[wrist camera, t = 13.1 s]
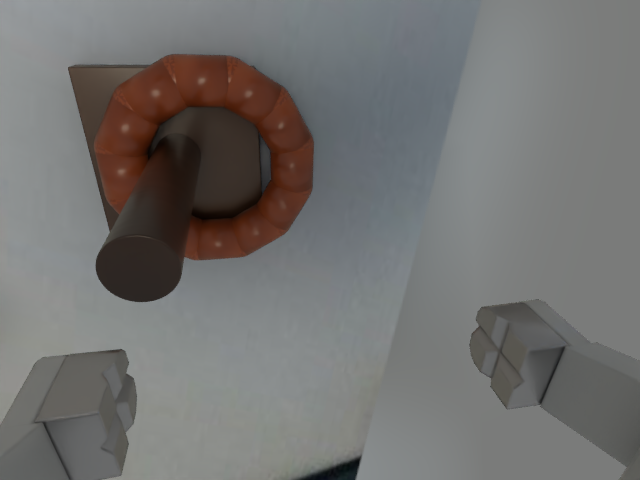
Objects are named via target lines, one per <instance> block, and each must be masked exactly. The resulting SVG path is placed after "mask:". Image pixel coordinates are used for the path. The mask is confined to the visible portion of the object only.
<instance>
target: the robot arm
mask: <svg viewBox="0 0 640 480" xmlns="http://www.w3.org/2000/svg"><path fill="white" fill-rule="evenodd" d="M476 321H477V323H478V324H479V327H478V328H477V329H476V330H475V331H474V332H473V333H472V335H471V340H470V352H471V356H472V359H473V361H474V364H475V365H476V367H477V368H478V370H479V371H480V372H481V373H483V374H485V375H486V376H488V377H490V378H491V386H490V387H491V388H492V389H493V391H494V392H495V393H496V395H497V396H498V398H499V399H500V400H501V402H502V403H503V404H504V406H505V407H506V409H513V408H521V407H528V406H535V405H541V406H540V407H541V408H543V409H544V410H546V411H547V412H548V413H550V414H551V415H553V416H554V417H556V418H557V419H558V420H560V421H561V422H563V423H564V424H566V425H567V426H569V427H570V428H571V429H573V430H574V431H576V432H577V433H579V434H580V435H581V436H583V437H584V438H586V439H587V440H589V441H590V442H592V443H593V444H595V445H596V446H598V447H599V448H600V449H602V450H603V451H605V452H606V453H607V454H609V455H610V456H612V457H613V458H615V459H616V460H618V461H619V462H621V463H622V464H623V465H625V466H626V467H627V468H626V469H625V471H624V472H623V474H622V475H621V477H620V479H619V480H640V361H639V360H637V359H635V358H632V357H630V356H628V355H625V354H623V353H621V352H618V351H616V350H614V349H611V348H609V347H607V346H604V345H601V344H599V343H597V342H596V343H590V342H589V341H588V340H587V339H586V338H585V337H584V336H583V335H581V334H580V333H579V332H578V331H577V330H576V329H575V328H574V327H572V326H571V325H570V324H569V323H568V322H567V321H566V320H565V319H563V318H562V317H561V316H560V315H559V314H558V313H557V312H556V311H554V310H553V309H552V308H551V307H550V306H549V305H548V304H546V302H544V301H541V300H539V299H536V300H529V301H521V302H518V303H517V302H516V303H508V304H500V305H492V306H484V307H481V309H480V310H479V311H478V313H477V316H476ZM128 365H129V361H128V358H127V355H126V352H125V351H124V350H122V349H119V350H108V351H98V352H87V353H77V354H70V355H61V356H51V357H42V358H41V359H40V360H38V361H37V362H36V363H35V364H34V366H33V368H32V370H31V372H30V373H29V375H28V377H27V379H26V380H25V382H24V384H23V386H22V388H21V389H20V391H19V393H18V395H17V396H16V398H15V400H14V402H13V404H12V405H11V407H10V409H9V411H8V412H7V414H6V416H5V418H4V420H3V421H2V423H1V425H0V480H102V479H107V478H112V477H117V476H121V475H122V470H123V466H124V462H125V458H126V454H127V449H128V445H129V443H128V440H127V436H126V433H125V432H126V431H127V430H128V429H129V428H130V427H131V426H132V425H133V424H134V419H135V414H136V404H137V394H136V386H135V382H134V378H133V377H131V376H130V375H128V374H127V373H126V372H127V368H128Z"/></svg>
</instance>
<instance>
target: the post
mask: <svg viewBox="0 0 640 480" xmlns="http://www.w3.org/2000/svg"><path fill="white" fill-rule="evenodd" d="M149 66H150V65H74V66H71V67H68V70H69V74H70V78H71V82H72V86H73V90H74V94H75V97H76V101H77V105H78V109H79V113H80V117H81V121H82V125H83V129H84V133H85V136H86V140H87V144H88V148H89V152H90V156H91V160H92V164H93V168H94V172H95V175H96V179H97V183H98V187H99V191H100V195H101V199H102V203H103V207H104V211H105V214H106V218H107V222H108V226H109V230H110V233H109V235H108V237H107V239H106V241H105V242H104V244H103V246H102V248H101V250H100V252H99V254H98V256H97V259H96V272H97V275H98V278H99V280H100V281H101V283H102V284H103V286H104V287H105V288H106V289H107V290H108V291H110V292H111V293H112V294H114V295H116V296H118V297H120V298H122V299H125V300H129V301H134V302H149V301H154V300H157V299H160V298H162V297H164V296H166V295H168V294H169V293H170V292H171V291H173V290H174V289H175V287H176V286H177V285H178V283H179V281H180V279H181V275H182V269H183V263H184V257H185V251H186V245H187V239H188V233H189V227H190V221H191V215H192V216H195V217H197V218H199V219H202V220H203V219H222V218H233V217H235V216H237V215H238V214H240V213H242V212H243V211H245V210H247V209H248V208H250V207H252V206H254V205H255V204H257V203H258V201H259V199H260V198H261V196H262V187H261V167H260V147H259V131H258V130H257V128H256V127H255V125H254V124H253V123H251V122H249V121H247V120H246V119H244V118H242V117H240V116H239V115H237V114H235V113H233V112H231V111H230V110H228V109H226V108H224V107H188V108H186V109H185V110H183V111H181V112H180V113H178V114H176V115H175V116H173V117H172V118H170V119H168V120H167V121H165V122H163V123H162V124H160V126H159V128H158V130H157V132H156V135H155V137H154V139H153V141H152V144H151V146H150V148H149V150H148V152H147V154H148V160H149V161H148V163H147V164H146V166H145V168H144V170H143V172H142V174H141V176H140V177H139V179H138V181H137V183H136V185H135V187H134V189H133V190H132V192H131V194H130V196H129V198H128V200H127V202H126V203H125V205H124V207H123V209H122V211H121V213H120V215H119V214H118V213H117V212H116V211H115V210H114V208H113V207H112V206H111V205H110V204H109V203H108V201H107V199H106V197H105V193H104V189H103V185H102V181H101V176H100V172H99V168H98V163H97V159H96V155H95V151H94V140H95V137H96V134H97V132H98V129H99V127H100V124H101V122H102V119H103V117H104V114H105V112H106V109H107V107H108V104H109V102H110V99H111V96H112V94H113V92H114V90H115V89H116V88H117V87H118V86H119V85H120V84H121V83H123V82H125V81H126V80H128V79H129V78H131V77H133V76H134V75H136V74H137V73H139V72H141V71H142V70H144V69H145V68H147V67H149ZM251 67H252V68H254V69H255V67H254V66H251Z"/></svg>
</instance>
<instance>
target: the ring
mask: <svg viewBox="0 0 640 480" xmlns="http://www.w3.org/2000/svg"><path fill="white" fill-rule="evenodd" d="M188 107H224V108H226V109H228V110H230V111H231V112H233V113H235V114H237V115H239V116H240V117H242V118H244V119H246V120H247V121H249V122H251V123H253V124H254V125H255V127H256V128H257V130H258V131H259V133H260V135H261V136H262V138H263V140H264V141H265V143H266V144H267V146H268V148H269V149H270V154H271V180H270V182H269V184H268V186H267V187H266V189H265V191H264V192H263V194H262V196H261V198H260V199H259V201H258V203H257V204H255V205H254V206H252V207H250V208H248V209H247V210H245V211H243V212H242V213H240V214H238V215H237V216H235V217H233V218H222V219H203V220H202V219H199V218H197V217H195V216H192V215H191V221H190V227H189V233H188V239H187V245H186V251H185V257H186V258H189V259H192V260H211V259H225V258H238V257H245V256H247V255H249V254H251V253H253V252H254V251H256V250H258V249H260V248H261V247H263V246H265V245H266V244H268V243H270V242H272V241H273V240H275V239H277V238H279V237H280V236H282V235H284V234H285V233H286V232H287V231H288V230H289V228H290V227H291V225H292V224H293V222H294V220H295V219H296V217H297V215H298V214H299V212H300V211H301V209H302V207H303V206H304V204H305V203H306V201H307V199H308V198H309V196H310V194H311V191H312V187H313V155H314V141H313V137H312V135H311V133H310V131H309V129H308V127H307V126H306V124H305V122H304V120H303V118H302V116H301V114H300V113H299V111H298V109H297V107H296V105H295V103H294V102H293V100H292V98H291V96H290V94H289V93H288V91H287V90H286V89H285V88H284V87H283V86H281V85H280V84H278V83H276V82H275V81H273V80H272V79H270V78H268V77H267V76H265V75H264V74H262V73H260V72H259V71H257V70H256V69H254V68H252V67H251V66H249V65H248V64H246V63H244V62H243V61H241V60H240V59H238V58H236V57H233V56H227V55H187V54H171V55H167V56H165V57H163V58H161V59H160V60H158V61H156V62H155V63H153V64H152V65H150V66H149V67H147V68H145V69H144V70H142V71H141V72H139V73H137V74H136V75H134V76H133V77H131V78H129V79H128V80H126V81H125V82H123V83H121V84H120V85H119V86H118V87H117V88H116V89H115V90H114V92H113V94H112V96H111V99H110V102H109V104H108V107H107V109H106V112H105V114H104V117H103V119H102V122H101V124H100V127H99V129H98V132H97V134H96V137H95V140H94V151H95V155H96V159H97V163H98V168H99V172H100V176H101V181H102V185H103V189H104V193H105V197H106V199H107V201H108V203H109V204H110V205H111V206H112V207H113V208H114V210H115V211H116V212H117V213H118V214H119V215H120V213H121V211H122V209H123V207H124V205H125V203H126V202H127V200H128V198H129V196H130V194H131V192H132V190H133V189H134V187H135V185H136V183H137V181H138V179H139V177H140V176H141V174H142V172H143V170H144V168H145V166H146V164H147V163H148V161H149V160H148V154H147V152H148V150H149V148H150V146H151V144H152V141H153V139H154V137H155V135H156V132H157V130H158V128H159V126H160V124H162V123H163V122H165V121H167V120H168V119H170V118H172V117H173V116H175V115H176V114H178V113H180V112H181V111H183V110H185V109H186V108H188Z"/></svg>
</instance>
